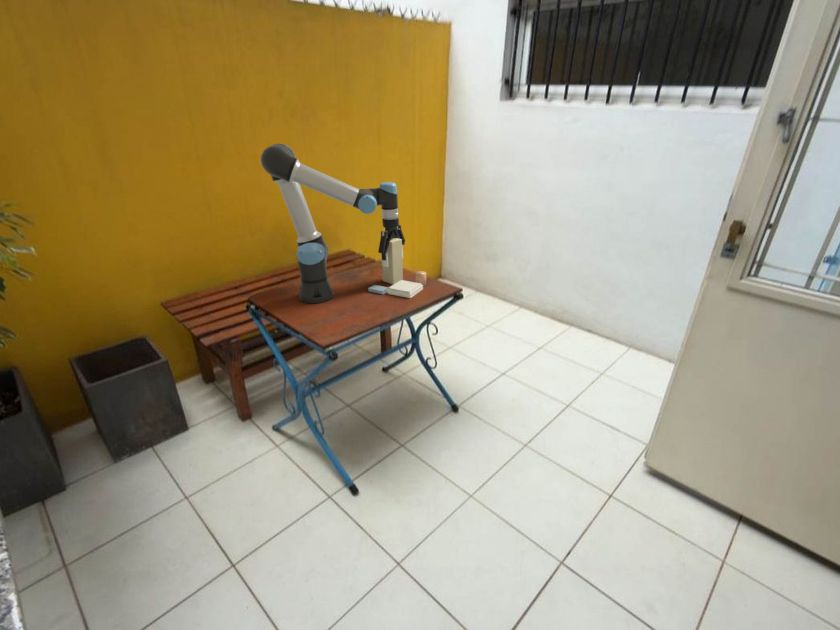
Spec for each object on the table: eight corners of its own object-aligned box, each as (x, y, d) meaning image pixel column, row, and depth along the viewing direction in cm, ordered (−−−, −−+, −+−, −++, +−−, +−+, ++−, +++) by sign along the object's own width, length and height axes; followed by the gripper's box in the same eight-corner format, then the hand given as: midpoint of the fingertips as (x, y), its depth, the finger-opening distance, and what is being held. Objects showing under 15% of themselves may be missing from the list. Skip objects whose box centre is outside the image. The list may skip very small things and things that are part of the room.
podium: (387, 293, 196) (387, 288, 195) (400, 284, 206) (400, 279, 205) (410, 298, 191) (410, 292, 190) (423, 289, 201) (423, 283, 199)
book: (368, 292, 200) (368, 288, 199) (374, 288, 204) (374, 284, 203) (382, 295, 196) (382, 291, 195) (388, 291, 200) (388, 287, 199)
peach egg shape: (413, 285, 205) (413, 273, 202) (419, 282, 209) (418, 270, 206) (423, 287, 203) (423, 275, 200) (428, 283, 207) (428, 271, 204)
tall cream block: (404, 280, 211) (403, 238, 202) (393, 285, 206) (391, 242, 197) (393, 277, 216) (391, 235, 207) (382, 281, 211) (379, 239, 202)
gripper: (382, 224, 186) (385, 271, 195) (410, 212, 206) (412, 255, 215) (368, 223, 189) (372, 269, 198) (397, 211, 209) (399, 253, 218)
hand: (393, 262), depth 207 cm, fingers open, 13 cm apart
